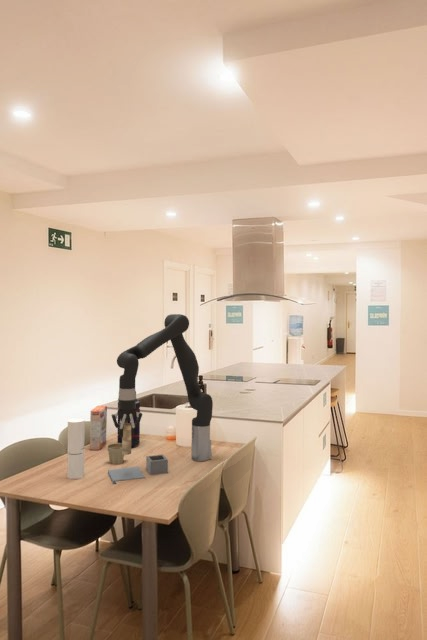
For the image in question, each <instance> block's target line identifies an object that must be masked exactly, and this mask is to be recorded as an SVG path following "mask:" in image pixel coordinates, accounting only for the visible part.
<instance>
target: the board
mask: <svg viewBox="0 0 427 640" xmlns="http://www.w3.org/2000/svg"><path fill="white" fill-rule="evenodd" d="M107 474H108V476H109V479H110V481H111V483H112V484H113V485H117V482H124V481H132V480H141V479H146V476H145V474H144V473H143V471H142V470H141V469H140V467H139V466H132V467H124V468H123V467H122V468H114V469H108V470H107Z"/></svg>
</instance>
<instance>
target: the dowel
mask: <svg viewBox="0 0 427 640" xmlns="http://www.w3.org/2000/svg"><path fill="white" fill-rule="evenodd" d="M122 429H123V437H122V454H123V455H124V456H126V455H127V456H128V455H131V454H132V448H131V424H130V423H125V424H123V428H122Z"/></svg>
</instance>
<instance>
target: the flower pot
mask: <svg viewBox="0 0 427 640" xmlns="http://www.w3.org/2000/svg"><path fill="white" fill-rule="evenodd" d="M106 448H107V449H106V450H107V451H108V459H109V463H110V464H113V465H115V464H116V465H117V464H118V465H119V464H122V463H123V462H124V460H125V459H124V458H125V455H123V454H122V443H118V442H115V443H110V444H108V445H106Z"/></svg>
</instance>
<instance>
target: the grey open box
mask: <svg viewBox="0 0 427 640" xmlns="http://www.w3.org/2000/svg"><path fill="white" fill-rule="evenodd" d="M145 457H146V458H145V470H146V471H147V473H148V474H149V475H151V476H152V475H161V474H163V475H164V474H168V472H169V471H168V469H169V460H168V458H167V456H165V455H164V454H155V455H146V456H145Z"/></svg>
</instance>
